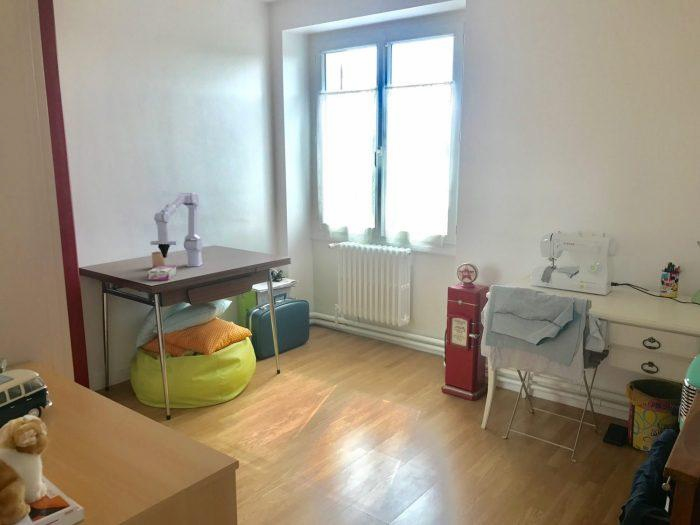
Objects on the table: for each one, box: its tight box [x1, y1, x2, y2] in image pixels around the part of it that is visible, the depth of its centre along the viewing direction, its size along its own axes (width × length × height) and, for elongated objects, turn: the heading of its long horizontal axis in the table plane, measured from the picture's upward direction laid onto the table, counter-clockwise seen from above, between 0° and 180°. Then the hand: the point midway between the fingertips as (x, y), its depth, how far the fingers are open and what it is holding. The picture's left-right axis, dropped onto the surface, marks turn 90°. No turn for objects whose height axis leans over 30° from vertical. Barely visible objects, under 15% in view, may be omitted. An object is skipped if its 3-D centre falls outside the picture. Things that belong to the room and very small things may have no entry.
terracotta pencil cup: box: [151, 251, 166, 268], centre depth 331 cm, size 7×7×9 cm
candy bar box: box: [147, 264, 177, 281], centre depth 306 cm, size 11×5×16 cm
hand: (164, 257), depth 312 cm, fingers closed
